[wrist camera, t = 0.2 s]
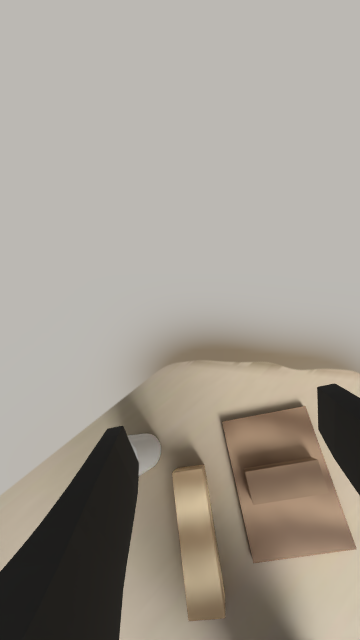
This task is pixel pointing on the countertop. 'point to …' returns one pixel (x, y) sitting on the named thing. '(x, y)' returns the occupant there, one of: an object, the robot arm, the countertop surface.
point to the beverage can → (145, 450)
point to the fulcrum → (285, 487)
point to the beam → (198, 545)
